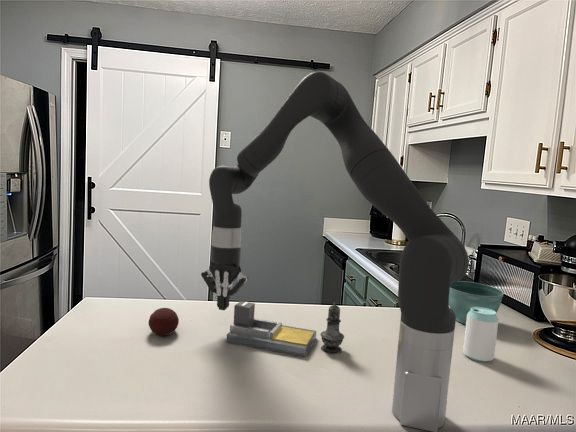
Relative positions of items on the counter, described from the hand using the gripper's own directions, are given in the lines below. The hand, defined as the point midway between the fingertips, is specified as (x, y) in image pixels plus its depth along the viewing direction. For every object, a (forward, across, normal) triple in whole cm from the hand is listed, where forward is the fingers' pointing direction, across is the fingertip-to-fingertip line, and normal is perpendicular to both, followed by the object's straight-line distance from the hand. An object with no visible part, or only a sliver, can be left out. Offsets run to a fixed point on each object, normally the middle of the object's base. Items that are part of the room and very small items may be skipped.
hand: (222, 309), depth 109 cm
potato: (+6, -13, -7) cm, 16 cm away
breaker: (+4, +6, 0) cm, 7 cm away
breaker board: (+6, +14, 0) cm, 15 cm away
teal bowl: (+6, +66, +40) cm, 77 cm away
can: (+6, +64, +12) cm, 65 cm away
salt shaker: (+6, +29, +1) cm, 30 cm away
